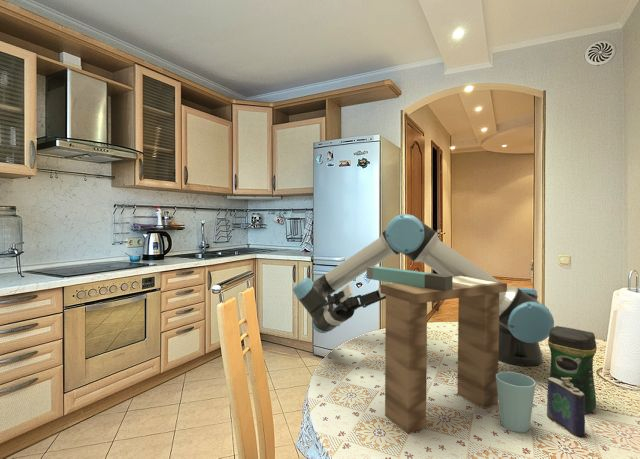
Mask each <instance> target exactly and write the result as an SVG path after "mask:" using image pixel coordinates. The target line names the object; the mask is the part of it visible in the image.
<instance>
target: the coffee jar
mask: <svg viewBox="0 0 640 459" xmlns="http://www.w3.org/2000/svg"><path fill="white" fill-rule="evenodd" d="M547 339H548V340H547V343H548V344H547V346H548V347H549V350H550V351H549V352H550V368H549V369H550V371H549V377H548V378H550V377H552V378H556V379H559V380H561V381H563V380H562V379H561V377H562V378H567V377H569V378H572V379H570V382H571V383H572V384H573V387H575V388H577V389H579V390H580V391H581V392H582V393H584V395H585V413H591V412H593V411H594V410H596V408H597V397H596V387H595V381H594V380H595V379H594V366H593V365H594V357H595V354H596V353H597V349H598V348H597V341H596V336H595V333H594V332H592V331H586V330H581V329H576V328H572V327H571V328H570V327H565V326H560V325H556V326H555V325H554V327H553V328H552V329H551V330H550V333H549V337H548V338H547Z"/></svg>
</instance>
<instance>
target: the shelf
mask: <svg viewBox="0 0 640 459" xmlns="http://www.w3.org/2000/svg"><path fill="white" fill-rule="evenodd" d="M380 287H381V293H382V294H385V295H386V298H385V343H384V344H385V346H384V347H385V354H384V356H385V360H384V361H385V362H384V364H385V366H384V367H385V368H384V369H385V370H384V374H385V375H384V380H385V382H384V386H385V387H384V388H385V389H384V390H385V391H384V395H385V396H384V416H385V418H388V419H389V420H391V421H392V423H393V424H395V425H396V426H398V427H399V428H400V429H401V430H403V431H404V432H405V433H407V434H411V433H413V432H414V433H415V432H417V431H420V430H423V429H426V428H427V373H428V371H427V369H428V368H427V366H428V365H427V364H428V358H427V356H428V355H427V354H428V347H427V345H428V335H427V334H428V303H430V302H432V303H433V302H438V301H439V302H440V301H445V300H447V301H448V300H455V299H458V303H457V304H458V310H457V311H458V313H457V314H458V317H457V318H458V320H457V323H458V324H457V325H458V326H457V328H458V329H457V334H458V335H457V395H458V396H459V397H462V398H464V399H466V400H467V401H469V402H471V403H473V404H475V405H476V406H479V407H480V408H482V409H486V408H489V407H492V406H496V405H499V402H498V392H497V383H496V374H497V373H499V360H498V359H499V293H501V292H507V287H508V283H506V282H501V281H499V282H496V281H490V280H485V279H479V278H473V277H467V276H465V277H463V276H457V277H453V282H452V290H448V291H440V290H434V289H428V288H422V287H415V286H409V285H403V284H397V283H392V284H385V283H382V284H380Z"/></svg>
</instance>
